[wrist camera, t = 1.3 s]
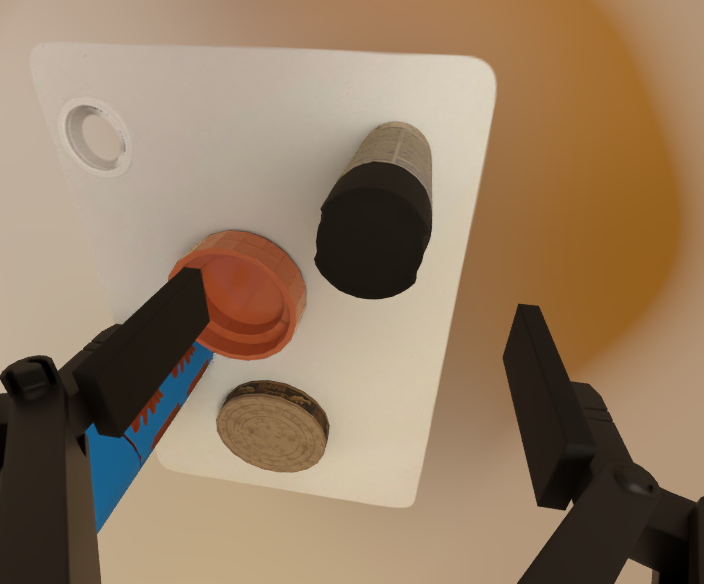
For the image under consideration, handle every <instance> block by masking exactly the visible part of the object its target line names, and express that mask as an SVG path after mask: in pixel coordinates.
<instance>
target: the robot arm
mask: <svg viewBox="0 0 704 584" xmlns="http://www.w3.org/2000/svg"><path fill="white" fill-rule="evenodd" d="M209 322H210V317H209V312H208V306H207V300H206V295H205V289H204V284H203V278H202V273H201V269H198V268H189V267H183V268H182V269H181V270H180V271H179V272H178V273H177V274H176V275H175V276H174V277H173V278H172V279H170V280H169V281H168V282H167V283H166V284H165V285H164V286H163V287H162V288H161V289H160V290H159V291H158V292H157V293H156V294H154V295H153V296H152V297H151V298H150V299H149V300H148V301H147V302H146V303H145V304H144V305H143V306H142V307H141V308H140V309H138V310H137V311H136V312H135V313H134V314H133V315H132V316H131V317H130V318H129V319H128V320H127V321H126V322H125V323H124V324H122V325H121V324H115V325H113V326H111V327H109V328H107V329H105V330H104V331H102V332H101V333H100V334H98V335H97V336H96V337H95V338H94V339H93V340H92V342H91V343H89V344H87V345H86V346H85V347H84V348H83V350H81V351H80V352H78V354H76V355H75V356H74V357H73V358H72V359H71V360H70V361H68V362H67V363H66V364H65V365H64V366H63V367H62V368H61V369H59V370H58V371H57V369H56V367H55V364H54V362H53V360H52V358H50V357H48V356H41V355H37V356H32V357H27V358H24V359H21V360H18V361H16V362H15V363H13V364H11V365H9V366H8V367H7V368H6V369H5V370H4V371H3V372H2V373H1V375H0V380H1V382H2V384H3V385H4V387H5V389H6V391H7V393H2V394H0V584H101V575H100V564H99V553H98V542H97V530H96V519H95V508H94V497H93V485H92V474H91V463H90V452H89V441H88V437H87V435H86V430H87V429H88V428H89V427H90V426H91V425H92V424H93V423H94V425H95V428H96V430H97V432H98V434H99V435H102V436H109V437H115V438H121V437H122V435H123V434H124V433H125V432H126V430H127V429H128V428H129V426H130V425H131V424H132V422H133V421H134V420H135V418H136V417H137V416H138V415H139V413H140V412H141V411H142V409H143V408H144V407H145V405H146V404H147V403H148V402H149V400H150V399H151V398H152V396H153V395H154V394H155V392H156V391H157V390H158V389H159V387H160V386H161V385H162V383H163V382H164V381H165V379H166V378H167V377H168V376H169V374H170V373H171V372H172V370H173V369H174V368H175V366H176V365H177V364H178V363H179V361H180V360H181V359H182V357H183V356H184V355H185V353H186V352H187V351H188V350H189V348H190V347H191V346H192V344H193V343H194V342H195V340H196V339H197V338H198V337H199V335H200V334H201V333H202V331H203V330H204V329H205V327H206V326H207V325H208V324H209ZM503 362H504V366H505V370H506V374H507V379H508V383H509V387H510V392H511V396H512V400H513V404H514V409H515V413H516V417H517V421H518V425H519V430H520V434H521V438H522V442H523V447H524V451H525V455H526V459H527V463H528V468H529V472H530V476H531V480H532V485H533V489H534V493H535V498H536V502H537V506H539V507H546V508H552V509H558V510H564V511H565V510H566V508H567V506H568V504H569V502H570V501H571V499H572V502H573V504H574V506H573V507H572V509H571V510H570V511H569V513H568V514H567V516H566V517H565V518H564V520H563V521H562V522H561V524H560V525H559V527H558V528H557V529H556V531H555V532H554V534H553V535H552V536H551V538H550V539H549V540H548V542H547V543H546V544H545V546H544V547H543V548H542V550H541V551H540V553H539V554H538V556H537V557H536V558H535V560H534V561H533V562H532V564H531V565H530V567H529V568H528V569H527V571H526V572H525V573H524V575H523V576H522V577H521V579H520V580H519V581H518V583H517V584H614V583H615V581H616V579H617V577H618V576H619V574H620V572H621V570H622V568H623V566H624V565H625V563H626V560H627V559H628V558H629V559H632V560H634V561H636V562H638V563H640V564H642V565H644V566H647V567H649V568H651V569H653V570H652V584H704V496H703V497H701V498H700V499H699V500H698V502H694V501H692V500H689V499H686V498H684V497H682V496H678V495H676V494H674V493H671V492H669V491H667V490H665V489H662V488H661V487H659V485H658V483H657V481H656V480H655V479H654V477H653V476H652V475H651V474H650V473H649V472H648V471H646V470H645V469H644V468H643V467H641V466H639V465H637V464H635V463H634V462H633V461H632V459H631V456H630V455H629V452H628V450H627V448H626V446H625V444H624V442H623V440H622V438H621V436H620V434H619V432H618V430H617V428H616V426H615V424H614V423H613V422H612V421H613V420H612V418H611V415H610V413H609V412H607V407H606V405H605V403H604V401H603V399H602V397H601V396H600V395H599V394H598V392H597V391H596V390H595V389H593V388H592V387H591V385H590V384H587V383H579V382H571V381H570V380H569V377H568V375H567V372H566V370H565V368H564V365H563V363H562V360H561V358H560V355H559V353H558V351H557V348H556V346H555V343H554V341H553V339H552V336H551V334H550V332H549V329H548V327H547V324H546V322H545V320H544V317H543V315H542V312H541V310H540V308H539V306H535V305H525V304H518V307H517V310H516V314H515V317H514V321H513V324H512V327H511V331H510V335H509V338H508V341H507V344H506V348H505V351H504V355H503Z"/></svg>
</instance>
